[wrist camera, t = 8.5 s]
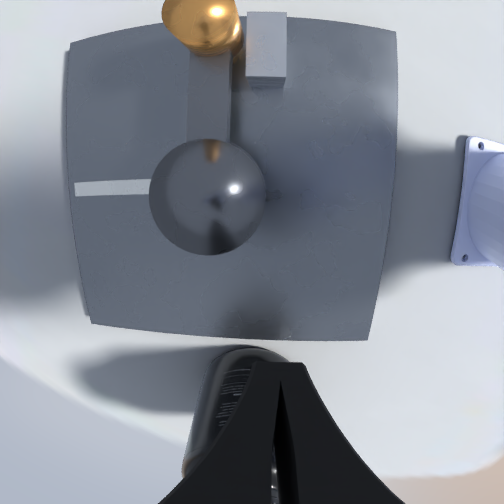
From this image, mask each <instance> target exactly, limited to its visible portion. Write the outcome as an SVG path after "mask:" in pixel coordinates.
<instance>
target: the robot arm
mask: <svg viewBox="0 0 504 504" xmlns="http://www.w3.org/2000/svg"><path fill="white" fill-rule="evenodd" d="M479 142H480V144H481V148H480V149H479V148H478V143H479ZM464 255H465V258H464V259H463V260H462V257H463V256H464ZM451 261H452V262H453V263H454V264H455V265H467V266H498V267H499V268H501V269H502V270H504V144H501V143H498V142H494V141H491V140H487V139H484V138H480V137H476V136H469V137H468V138H467V140H466V148H465V162H464V173H463V183H462V191H461V199H460V206H459V213H458V219H457V225H456V231H455V236H454V242H453V247H452V252H451ZM273 445H274V451H275V463H276V475H277V487H278V499H279V504H405V503H404V502H403V501H402V500H400V499H399V498H398V497H397V496H396V495H395V494H394V493H393V492H391V491H390V490H389V488H388V487H387V486H386V485H385V484H384V483H383V482H382V481H381V480H380V479H379V478H378V477H377V476H376V475H375V474H374V473H373V471H372V470H371V469H370V468H369V467H368V466H367V465H366V464H365V462H364V461H363V460H362V459H361V457H360V456H359V455H358V454H357V452H356V451H355V450H354V448H353V447H352V446H351V444H350V443H349V442H348V440H347V439H346V437H345V436H344V435H343V433H342V432H341V430H340V429H339V427H338V426H337V424H336V423H335V421H334V419H333V418H332V416H331V415H330V413H329V411H328V410H327V408H326V406H325V405H324V403H323V401H322V399H321V398H320V396H319V394H318V392H317V390H316V388H315V386H314V384H313V382H312V380H311V378H310V376H309V373H308V371H307V369H306V366H305V365H304V364H303V363H302V362H262V361H256V362H255V363H253V364H252V368H251V372H250V375H249V378H248V380H247V383H246V385H245V387H244V390H243V392H242V394H241V396H240V398H239V400H238V402H237V404H236V406H235V407H234V409H233V411H232V413H231V415H230V417H229V418H228V420H227V422H226V423H225V425H224V426H223V428H222V429H221V431H220V432H219V434H218V435H217V437H216V438H215V440H214V441H213V443H212V444H211V446H210V447H209V448H208V450H207V451H206V452H205V454H204V455H203V456H202V457H201V459H200V460H199V461H198V462H197V464H196V465H195V466H194V467H193V468H192V469H191V471H190V472H189V473H188V474H187V475H186V476H185V477H184V478H183V479H182V481H181V482H180V483H179V484H178V485H177V486H176V487H175V488H174V489H173V490H172V491H171V492H170V493H169V494H168V495H167V496H166V497H165V498H164V499H163V500H161V501H160V503H158V504H271V483H272V452H273Z"/></svg>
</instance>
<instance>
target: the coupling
mask: <svg viewBox="0 0 504 504" xmlns="http://www.w3.org/2000/svg"><path fill="white" fill-rule="evenodd" d="M162 20H163V23H164V25H165V26H166V28H167V29H168V30H169V31H170V32H171V33H172V34H173V35H174V36H175V37H176V38H177V39H178V40H179V41H180V42H181V43H182V44H183V45H184V46H185V47H186V48H187V49H188V50H189V51H190V58H189V76H188V99H187V132H186V143H183V144H181V145H179V146H177V147H175V148H174V149H173V150H171V151H170V152H169V153H168V154H166V155H165V156H164V157H163V159H162V160H161V161H160V162H159V164H158V165H157V167H156V169H155V171H154V173H153V175H152V178H151V182H150V187H149V206H150V210H151V214H152V216H153V219H154V221H155V223H156V225H157V227H158V228H159V230H160V231H161V233H162V234H163V235H164V236H165V237H166V238H167V239H168V240H169V241H170V242H171V243H173V244H174V245H176V246H177V247H179V248H181V249H183V250H185V251H187V252H190V253H193V254H197V255H205V256H207V255H220V254H224V253H227V252H230V251H232V250H234V249H236V248H238V247H240V246H241V245H242V244H244V243H245V242H246V241H247V240H248V239H249V238H250V237H251V236H252V235H253V234H254V232H255V231H256V230H257V228H258V226H259V224H260V222H261V220H262V217H263V213H264V209H265V201H266V187H265V181H264V178H263V174H262V172H261V170H260V168H259V166H258V165H257V163H256V161H255V160H254V159H253V158H252V157H251V155H249V154H248V153H247V152H246V151H245V150H244V149H242V148H241V147H239V146H237V145H235V144H233V143H231V142H230V117H231V91H232V67H233V58H234V57H235V56H236V55H237V54H238V53H239V52H240V51H241V49H242V47H243V44H244V33H243V29H242V26H241V22H240V19H239V15H238V12H237V8H236V5H235V1H234V0H165V2H164V4H163V7H162Z"/></svg>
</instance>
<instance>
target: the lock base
mask: <svg viewBox="0 0 504 504" xmlns="http://www.w3.org/2000/svg"><path fill="white" fill-rule="evenodd" d="M239 19H240V22H241V26H242V29H243V33H244V44H243V47H242V49H241V51H240V52H239V53H238V54H237V55H236V56H235V57H234V58H233V67H232V91H231V117H230V142H231V143H233V144H235V145H237V146H239V147H241V148H242V149H244V150H245V151H246V152H247V153H248V154H249V155H251V157H252V158H253V159H254V160H255V161H256V163H257V165H258V166H259V168H260V170H261V172H262V174H263V178H264V181H265V187H266V201H265V209H264V213H263V217H262V220H261V222H260V224H259V226H258V228H257V230H256V231H255V232H254V234H253V235H252V236H251V237H250V238H249V239H248V240H247V241H246V242H245V243H244V244H242V245H241V246H240V247H238V248H236V249H234V250H232V251H230V252H227V253H224V254H220V255H207V256H205V255H197V254H193V253H190V252H187V251H185V250H183V249H181V248H179V247H177V246H176V245H174V244H173V243H171V242H170V241H169V240H168V239H167V238H166V237H165V236H164V235H163V234H162V233H161V231H160V230H159V228H158V227H157V225H156V223H155V221H154V219H153V216H152V214H151V210H150V206H149V187H150V182H151V178H152V175H153V173H154V171H155V169H156V167H157V165H158V164H159V162H160V161H161V160H162V159H163V157H164V156H165V155H166V154H168V153H169V152H170V151H171V150H173V149H174V148H175V147H177V146H179V145H181V144H183V143H186V132H187V99H188V76H189V58H190V51H189V50H188V49H187V48H186V47H185V46H184V45H183V44H182V43H181V42H180V41H179V40H178V39H177V38H176V37H175V36H174V35H173V34H172V33H171V32H170V31H169V30H168V29H167V28H166V26H165V25H164V23H158V24H151V25H145V26H140V27H134V28H129V29H124V30H119V31H115V32H110V33H106V34H102V35H98V36H94V37H90V38H86V39H83V40H79V41H76V42H72V43H70V52H69V64H68V78H67V102H66V142H67V166H68V181H69V194H70V204H71V213H72V222H73V229H74V237H75V243H76V250H77V256H78V262H79V268H80V273H81V278H82V284H83V289H84V293H85V298H86V303H87V307H88V311H89V316H90V320H91V324H98V325H105V326H112V327H119V328H127V329H135V330H144V331H153V332H162V333H173V334H184V335H195V336H208V337H223V338H240V339H261V340H293V341H362V340H368V336H369V332H370V327H371V323H372V319H373V314H374V309H375V305H376V300H377V295H378V289H379V284H380V279H381V273H382V267H383V262H384V255H385V249H386V242H387V235H388V228H389V221H390V212H391V204H392V195H393V184H394V173H395V160H396V144H397V120H398V62H397V40H396V32H395V31H390V30H385V29H380V28H375V27H370V26H364V25H358V24H352V23H345V22H337V21H329V20H319V19H308V18H294V17H287V12H247V16H239Z"/></svg>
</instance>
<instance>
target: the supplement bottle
mask: <svg viewBox="0 0 504 504" xmlns="http://www.w3.org/2000/svg"><path fill="white" fill-rule="evenodd" d="M256 361H262V362H289V361H288V360H287V359H285V358H284V357H282V356H281V355H279V354H276V353H274V352H271V351H268V350H264V349H258V348H243V349H237V350H233V351H230V352H227V353H225V354H223V355H221V356H219V357H218V358H216V359H215V360H214V361H213V362H212V363H211V364H210V365H209V367H208V368H207V370H206V372H205V375H204V378H203V382H202V385H201V389H200V393H199V397H198V401H197V405H196V409H195V413H194V417H193V421H192V426H191V430H190V434H189V438H188V442H187V446H186V450H185V455H184V459H183V464H182V477H183V478H184V477H185V476H186V475H187V474H188V473H189V472H190V471H191V469H192V468H193V467H194V466H195V465H196V464H197V462H198V461H199V460H200V459H201V457H202V456H203V455H204V454H205V452H206V451H207V450H208V448H209V447H210V446H211V444H212V443H213V441H214V440H215V438H216V437H217V435H218V434H219V432H220V431H221V429H222V428H223V426H224V425H225V423H226V422H227V420H228V418H229V417H230V415H231V413H232V411H233V409H234V407H235V406H236V404H237V402H238V400H239V398H240V396H241V394H242V392H243V390H244V387H245V385H246V383H247V380H248V378H249V375H250V372H251V368H252V364H253V363H255V362H256ZM271 504H279V499H278V487H277V475H276V463H275V451H274V445H273V452H272V483H271Z"/></svg>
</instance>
